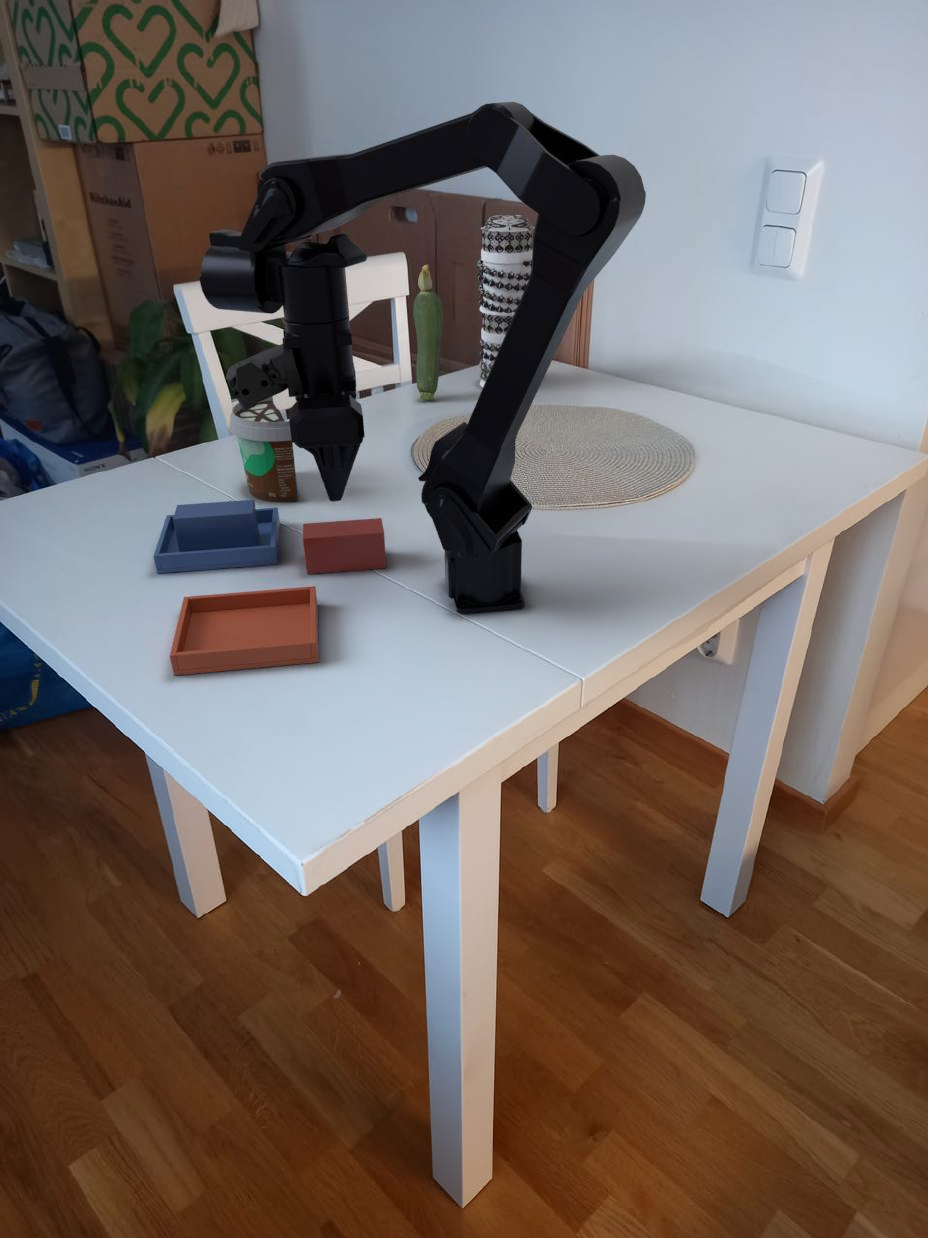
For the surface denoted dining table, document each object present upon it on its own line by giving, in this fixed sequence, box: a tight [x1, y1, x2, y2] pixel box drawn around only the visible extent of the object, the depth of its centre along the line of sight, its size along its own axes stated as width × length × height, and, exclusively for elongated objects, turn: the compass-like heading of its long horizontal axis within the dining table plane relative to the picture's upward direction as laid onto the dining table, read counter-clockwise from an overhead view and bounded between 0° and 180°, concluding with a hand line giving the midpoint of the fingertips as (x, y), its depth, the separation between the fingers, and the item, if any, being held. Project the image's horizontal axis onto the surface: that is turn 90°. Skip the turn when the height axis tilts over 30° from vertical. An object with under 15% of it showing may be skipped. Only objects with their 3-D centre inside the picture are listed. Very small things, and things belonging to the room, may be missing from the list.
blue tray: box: [153, 507, 281, 574], centre depth 95 cm, size 12×10×2 cm
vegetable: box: [412, 264, 444, 402], centre depth 133 cm, size 4×4×20 cm
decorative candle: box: [476, 214, 535, 389], centre depth 139 cm, size 9×9×25 cm
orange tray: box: [169, 585, 320, 676], centre depth 79 cm, size 12×10×2 cm
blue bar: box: [173, 499, 259, 552], centre depth 94 cm, size 8×4×4 cm, turn 99°
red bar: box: [302, 517, 387, 575], centre depth 91 cm, size 8×4×4 cm, turn 99°
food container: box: [228, 396, 299, 503], centre depth 106 cm, size 12×6×10 cm, turn 21°
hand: (334, 482), depth 87 cm, fingers open, 9 cm apart
